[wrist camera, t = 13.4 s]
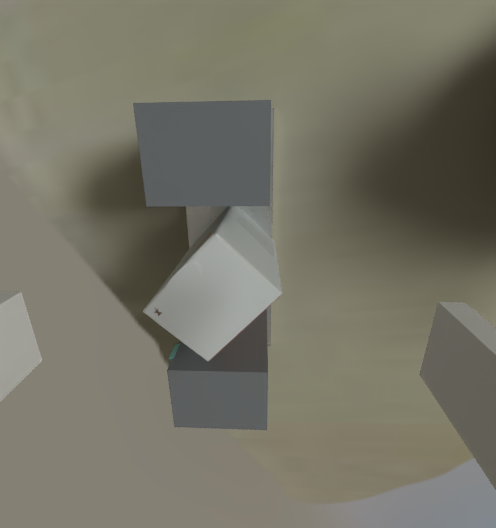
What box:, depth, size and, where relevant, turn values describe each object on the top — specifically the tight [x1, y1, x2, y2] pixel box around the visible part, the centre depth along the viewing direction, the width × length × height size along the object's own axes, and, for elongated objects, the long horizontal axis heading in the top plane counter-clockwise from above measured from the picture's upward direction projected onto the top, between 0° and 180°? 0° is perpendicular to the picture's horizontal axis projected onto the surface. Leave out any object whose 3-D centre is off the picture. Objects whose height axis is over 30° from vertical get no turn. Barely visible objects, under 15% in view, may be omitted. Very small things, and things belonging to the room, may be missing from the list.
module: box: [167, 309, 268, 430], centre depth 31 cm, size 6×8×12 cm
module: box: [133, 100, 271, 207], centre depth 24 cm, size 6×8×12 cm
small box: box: [143, 206, 282, 361], centre depth 27 cm, size 8×6×13 cm
